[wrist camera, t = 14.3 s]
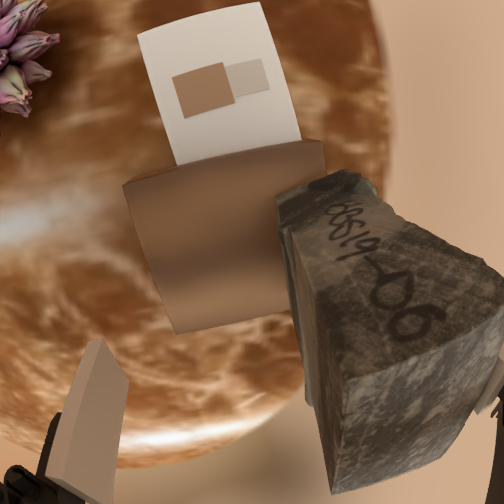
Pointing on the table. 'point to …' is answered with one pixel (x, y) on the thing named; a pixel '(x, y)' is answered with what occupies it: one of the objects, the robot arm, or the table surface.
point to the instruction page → (219, 83)
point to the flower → (21, 53)
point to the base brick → (220, 231)
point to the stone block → (384, 328)
